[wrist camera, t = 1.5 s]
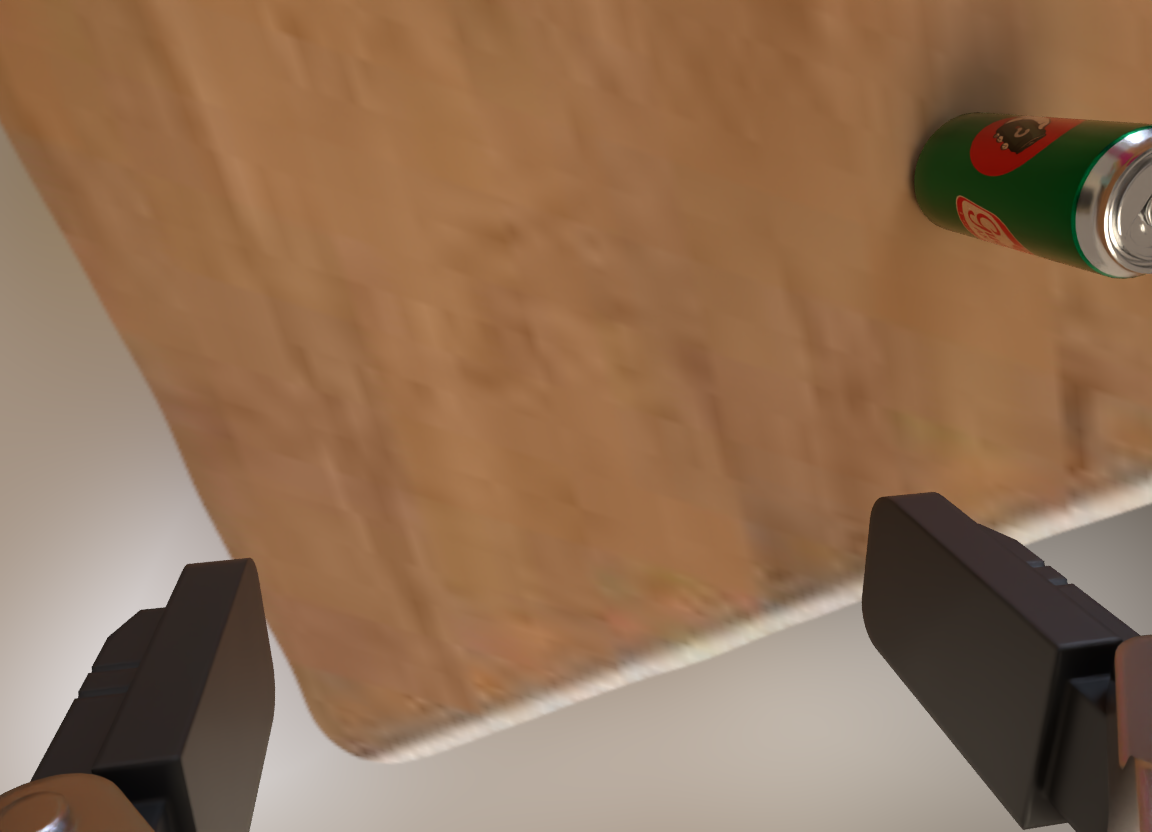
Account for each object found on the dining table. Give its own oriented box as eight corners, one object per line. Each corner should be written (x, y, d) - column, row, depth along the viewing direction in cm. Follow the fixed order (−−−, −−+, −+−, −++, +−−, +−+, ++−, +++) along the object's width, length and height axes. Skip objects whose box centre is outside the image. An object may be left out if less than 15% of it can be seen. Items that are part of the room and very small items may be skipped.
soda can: (888, 209, 41) (1066, 260, 30) (937, 95, 39) (1143, 103, 28) (981, 243, 42) (1185, 303, 31) (1032, 133, 41) (1265, 156, 29)
